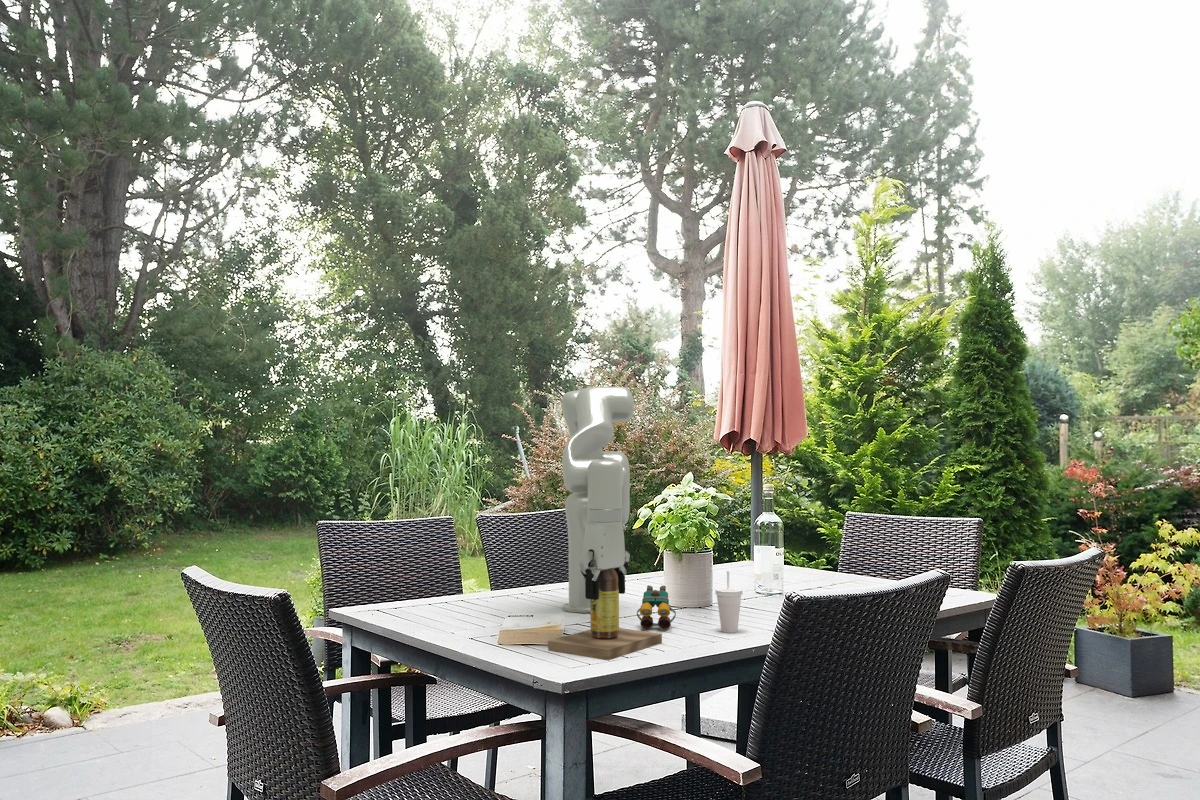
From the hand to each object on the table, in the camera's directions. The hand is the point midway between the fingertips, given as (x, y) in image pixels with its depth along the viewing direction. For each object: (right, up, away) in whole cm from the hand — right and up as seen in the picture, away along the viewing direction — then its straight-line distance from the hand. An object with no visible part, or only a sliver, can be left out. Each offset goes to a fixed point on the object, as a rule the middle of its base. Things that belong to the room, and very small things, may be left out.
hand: (605, 596), depth 196 cm
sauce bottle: (0, -9, -1) cm, 9 cm away
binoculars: (+12, -12, +19) cm, 26 cm away
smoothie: (+29, -12, +15) cm, 35 cm away
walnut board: (0, -11, -1) cm, 11 cm away
